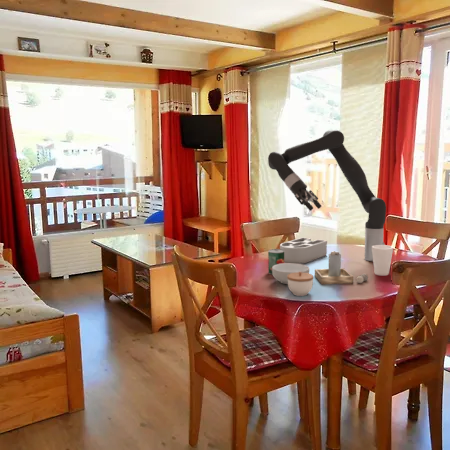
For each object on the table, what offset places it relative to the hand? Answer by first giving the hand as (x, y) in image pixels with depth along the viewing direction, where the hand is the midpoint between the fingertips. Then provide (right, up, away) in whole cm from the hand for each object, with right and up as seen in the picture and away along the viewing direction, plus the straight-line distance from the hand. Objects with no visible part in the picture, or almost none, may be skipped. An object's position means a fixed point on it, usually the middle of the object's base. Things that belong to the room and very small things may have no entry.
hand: (316, 208), depth 229 cm
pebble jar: (+6, -32, -13) cm, 35 cm away
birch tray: (+5, -33, -13) cm, 36 cm away
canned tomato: (-19, -32, +1) cm, 37 cm away
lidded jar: (-13, -37, -32) cm, 51 cm away
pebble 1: (+16, -34, -19) cm, 42 cm away
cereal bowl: (-14, -34, -15) cm, 40 cm away
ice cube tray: (-2, -27, +30) cm, 40 cm away
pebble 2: (+19, -33, -16) cm, 41 cm away
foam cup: (+30, -31, -5) cm, 44 cm away
